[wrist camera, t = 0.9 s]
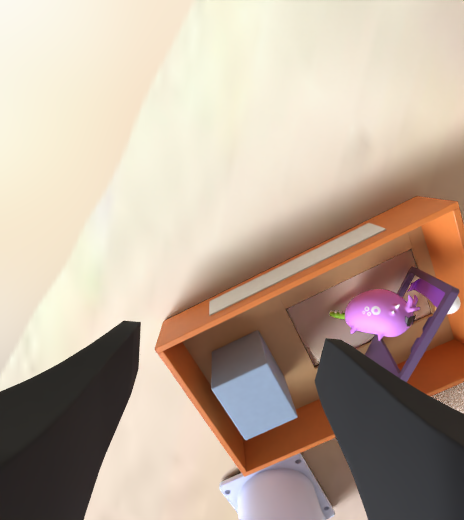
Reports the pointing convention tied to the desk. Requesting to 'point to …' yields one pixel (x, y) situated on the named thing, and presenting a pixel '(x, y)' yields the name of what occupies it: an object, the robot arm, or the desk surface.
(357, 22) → the desk surface
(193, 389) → the wooden tray
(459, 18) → the desk surface
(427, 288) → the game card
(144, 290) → the desk surface
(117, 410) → the robot arm
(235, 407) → the small cube
